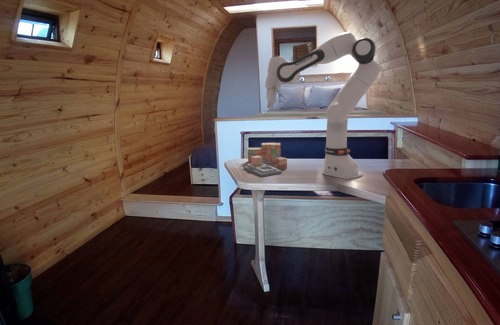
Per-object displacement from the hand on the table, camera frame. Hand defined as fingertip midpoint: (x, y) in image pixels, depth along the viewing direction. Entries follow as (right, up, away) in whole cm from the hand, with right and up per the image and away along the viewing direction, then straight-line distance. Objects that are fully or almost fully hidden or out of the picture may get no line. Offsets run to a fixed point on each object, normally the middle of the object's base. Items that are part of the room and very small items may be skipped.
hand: (269, 109), depth 185 cm
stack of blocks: (-2, -31, +22) cm, 38 cm away
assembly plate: (-4, -36, 0) cm, 37 cm away
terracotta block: (+7, -35, +5) cm, 36 cm away
